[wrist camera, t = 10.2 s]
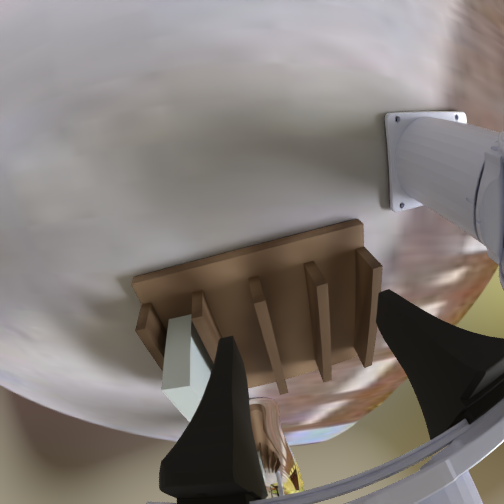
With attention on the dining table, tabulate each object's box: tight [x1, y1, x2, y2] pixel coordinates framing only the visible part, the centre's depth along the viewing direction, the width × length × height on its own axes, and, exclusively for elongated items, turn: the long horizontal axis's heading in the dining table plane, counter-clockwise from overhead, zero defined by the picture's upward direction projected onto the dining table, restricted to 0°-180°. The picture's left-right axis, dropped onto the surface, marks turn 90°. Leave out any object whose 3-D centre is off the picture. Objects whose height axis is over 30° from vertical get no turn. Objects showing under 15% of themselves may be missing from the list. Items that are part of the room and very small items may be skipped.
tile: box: [161, 314, 214, 422], centre depth 21 cm, size 2×8×7 cm, turn 13°
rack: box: [131, 219, 382, 395], centre depth 23 cm, size 18×16×4 cm
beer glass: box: [249, 398, 305, 499], centre depth 26 cm, size 7×7×15 cm
